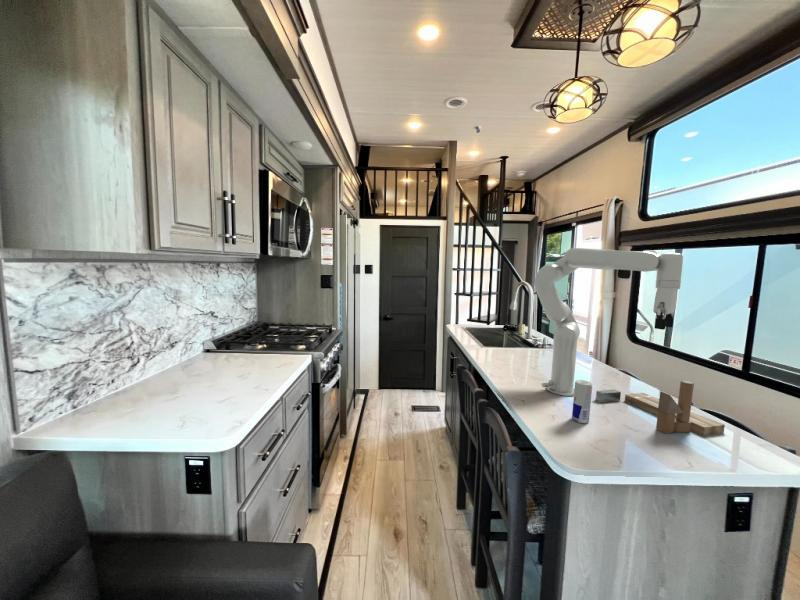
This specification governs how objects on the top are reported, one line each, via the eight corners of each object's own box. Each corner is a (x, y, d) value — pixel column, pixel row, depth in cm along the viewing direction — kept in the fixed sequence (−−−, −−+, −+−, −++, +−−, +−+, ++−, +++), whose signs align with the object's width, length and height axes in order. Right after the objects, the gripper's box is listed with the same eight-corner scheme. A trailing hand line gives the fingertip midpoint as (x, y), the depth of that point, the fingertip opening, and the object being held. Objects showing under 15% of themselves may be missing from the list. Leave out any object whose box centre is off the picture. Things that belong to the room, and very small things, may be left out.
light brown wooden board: (703, 435, 114) (704, 427, 114) (624, 400, 143) (625, 394, 143) (723, 432, 117) (724, 424, 116) (642, 399, 145) (643, 392, 145)
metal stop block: (601, 402, 140) (602, 393, 140) (595, 399, 143) (596, 390, 143) (620, 400, 143) (620, 391, 142) (613, 398, 146) (614, 389, 145)
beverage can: (587, 418, 124) (590, 380, 123) (590, 425, 119) (594, 385, 117) (570, 416, 126) (574, 378, 124) (573, 422, 121) (576, 383, 119)
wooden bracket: (655, 428, 118) (661, 380, 116) (680, 427, 120) (686, 379, 118) (665, 434, 114) (671, 384, 112) (690, 432, 116) (697, 383, 114)
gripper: (663, 284, 136) (659, 324, 138) (648, 284, 126) (644, 328, 128) (686, 285, 130) (682, 327, 132) (673, 285, 120) (668, 331, 122)
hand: (663, 327), depth 130 cm, fingers open, 9 cm apart
